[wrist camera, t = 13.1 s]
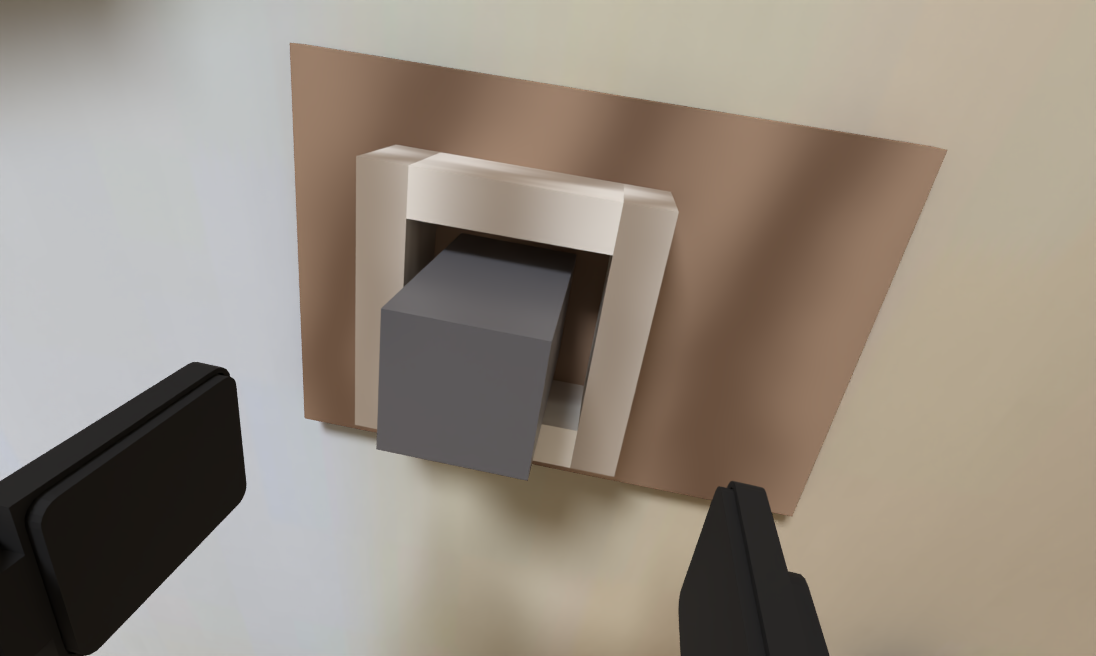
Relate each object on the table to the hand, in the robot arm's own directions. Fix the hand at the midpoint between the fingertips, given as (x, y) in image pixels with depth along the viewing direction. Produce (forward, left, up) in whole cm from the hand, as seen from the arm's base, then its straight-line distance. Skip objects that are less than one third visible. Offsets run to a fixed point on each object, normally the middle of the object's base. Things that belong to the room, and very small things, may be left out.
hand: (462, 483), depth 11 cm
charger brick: (+1, 0, -10) cm, 10 cm away
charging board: (-1, 0, -11) cm, 11 cm away
